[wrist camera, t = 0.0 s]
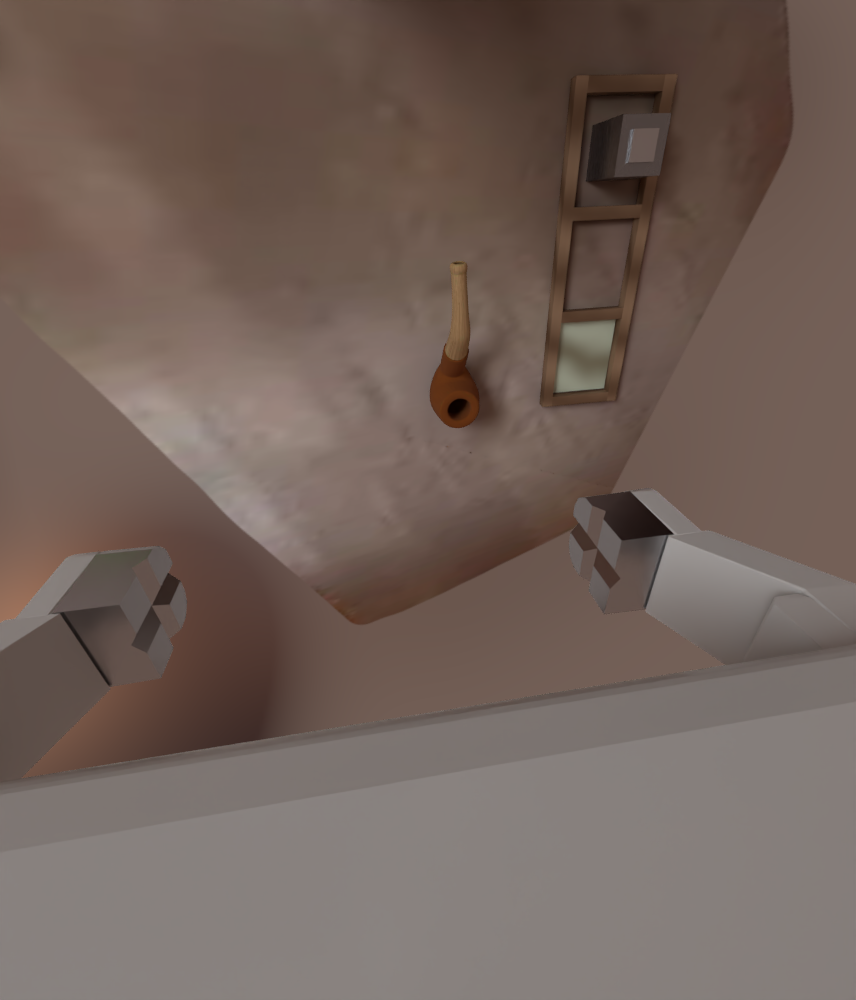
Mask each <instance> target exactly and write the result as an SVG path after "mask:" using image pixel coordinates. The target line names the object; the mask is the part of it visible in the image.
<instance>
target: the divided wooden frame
mask: <svg viewBox="0 0 856 1000" xmlns="http://www.w3.org/2000/svg"><path fill="white" fill-rule="evenodd" d="M677 75H678V74H638V75H577V76H575V77H573V78H572V79H571V87H570V97H569V107H568V118H567V128H566V138H565V148H564V159H563V169H562V179H561V189H560V200H559V210H558V220H557V230H556V241H555V251H554V261H553V271H552V282H551V292H550V302H549V312H548V322H547V333H546V343H545V353H544V363H543V374H542V384H541V394H540V405H541V406H542V407H548V406H558V405H569V404H580V403H590V402H601V401H612V400H616V394H617V389H618V384H619V379H620V373H621V368H622V363H623V358H624V352H625V347H626V342H627V337H628V331H629V326H630V321H631V316H632V310H633V305H634V300H635V295H636V290H637V284H638V279H639V274H640V269H641V263H642V258H643V253H644V248H645V242H646V237H647V232H648V227H649V221H650V216H651V211H652V206H653V200H654V195H655V190H656V185H657V179H658V176H651V177H643V178H641V180H640V185H639V191H638V197H637V203H636V205H617V206H596V207H575V208H574V205H575V196H576V187H577V179H578V170H579V161H580V152H581V143H582V134H583V126H584V117H585V108H586V99H587V95H628V94H655V99H654V105H653V111H652V113H670V111H671V106H672V101H673V96H674V90H675V85H676V80H677ZM626 218H634V220H633V225H632V231H631V237H630V243H629V248H628V254H627V260H626V266H625V271H624V277H623V283H622V289H621V294H620V300H619V306H614V307H600V308H586V309H572V310H563V302H564V294H565V285H566V276H567V267H568V258H569V249H570V240H571V232H572V223H573V221H586V220H606V219H626ZM615 321H616V323H615ZM614 327H615V329H614ZM613 333H614V334H613ZM612 339H613V340H612ZM611 344H612V346H611ZM610 350H611V352H610ZM609 356H610V357H609ZM608 362H609V363H608ZM607 367H608V369H607ZM606 373H607V375H606ZM605 379H606V380H605ZM604 385H605V386H604ZM601 388H604V389H601ZM590 389H600V390H590ZM578 390H589V391H578ZM567 391H577V392H567ZM556 392H566V393H556ZM553 393H555V394H553Z"/></svg>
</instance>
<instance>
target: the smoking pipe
mask: <svg viewBox="0 0 856 1000" xmlns="http://www.w3.org/2000/svg"><path fill="white" fill-rule="evenodd" d="M450 272H451V282H452V322H451V329H450V334H449V338H448V341H447V343H446V344H445V346H444V350H443V355H442V360H441V364H440V365H439V367H438V368H437V370H436V372H435V374H434V377H433V380H432V383H431V387H430V402H431V406H432V408H433V410H434V411H435V413H436V414H437V416H438V417H439V418H440V419H441V420H442V421H443V423H445V424H446V425H447V426H449V427H452V428H462V427H465V426H468V425H469V424H471V423H472V422H473V421H474V420H475V418H476V417H477V415H478V413H479V392H478V389H477V386H476V384H475V382H474V380H473V378H472V377H471V375H470V373H469V372H468V370H467V369H466V367H465V364H466V361H467V357H468V353H469V349H468V346H469V341H470V322H469V312H468V295H467V276H466V272H467V264H466V263H465V262H463V261H456V262H453V263H451V265H450Z"/></svg>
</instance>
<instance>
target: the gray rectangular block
mask: <svg viewBox="0 0 856 1000" xmlns="http://www.w3.org/2000/svg"><path fill="white" fill-rule="evenodd" d="M670 119H671V113H650V114H623V115H620V116H617V117H614V118H612V119H609V120H606V121H604V122H601V123H598V124H595V125H593V127H592V136H591V144H590V152H589V160H588V168H587V177H586V181H606V180H628V179H636V178H643V177H651V176H659V175H660V171H661V166H662V160H663V155H664V150H665V145H666V139H667V134H668V129H669V124H670Z"/></svg>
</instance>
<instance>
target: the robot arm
mask: <svg viewBox="0 0 856 1000" xmlns="http://www.w3.org/2000/svg"><path fill="white" fill-rule="evenodd" d="M573 515H574V517H575V518H576V519H577V521H578V522H579V523H578V524H577V526H576V527H575V528H574V529H573V530H572V531H571V533H570V541H569V550H570V557H571V560H572V563H573V565H574V568H575V569H576V571H577V573H578V574H579V576H581V577H583V578H585V579H587V580H588V581H590V587H589V592H590V593H591V595H592V596H593V598H594V599H595V601H596V603H597V604H598V606H599V607H600V609H601V610H602V612H603V613H604V614H610V613H619V612H627V611H636V610H644V609H646V610H645V612H647V613H648V614H650V615H651V616H653V617H654V618H656V619H657V620H659V621H660V622H662V623H663V624H665V625H666V626H668V627H669V628H671V629H672V630H674V631H676V632H677V633H678V634H680V635H682V636H683V637H685V638H686V639H688V640H689V641H690V642H692V643H694V644H695V645H696V646H698V647H700V648H701V649H702V650H704V651H706V652H707V653H709V654H710V655H712V656H713V657H715V658H716V659H718V660H719V661H721V662H722V663H724V664H725V665H724V666H717V667H711V668H705V669H699V670H693V671H686V672H680V673H674V674H668V675H661V676H656V677H649V678H643V679H636V680H630V681H624V682H618V683H612V684H606V685H600V686H593V687H587V688H581V689H574V690H568V691H562V692H556V693H549V694H544V695H537V696H531V697H524V698H518V699H512V700H506V701H500V702H494V703H487V704H481V705H475V706H469V707H462V708H456V709H450V710H444V711H437V712H432V713H425V714H419V715H413V716H406V717H400V718H395V719H388V720H382V721H376V722H369V723H363V724H357V725H350V726H345V727H338V728H332V729H326V730H319V731H313V732H308V733H301V734H295V735H289V736H282V737H276V738H270V739H264V740H257V741H251V742H245V743H239V744H233V745H227V746H220V747H214V748H208V749H201V750H195V751H189V752H183V753H177V754H170V755H165V756H158V757H152V758H146V759H139V760H134V761H127V762H121V763H115V764H108V765H102V766H96V767H90V768H84V769H78V770H71V771H65V772H59V773H53V774H46V775H40V776H34V777H28V778H22V777H23V776H24V775H25V774H26V773H27V772H28V771H29V770H30V769H31V768H32V767H33V766H34V764H36V763H37V762H38V761H39V760H40V759H41V758H42V757H43V756H44V755H45V754H46V753H47V752H48V751H49V750H50V749H51V748H52V747H53V746H54V745H55V744H56V743H57V742H58V741H59V740H60V739H61V738H62V737H63V736H64V735H65V734H66V733H67V732H68V731H69V730H70V729H71V728H72V727H73V726H74V725H75V724H76V723H77V722H78V721H79V720H80V719H81V718H82V717H83V716H84V715H85V714H86V713H87V712H88V711H89V710H90V709H91V708H92V707H93V706H94V705H95V704H96V703H97V702H98V701H99V700H100V699H101V698H102V697H103V696H104V695H105V694H106V693H107V692H108V691H109V690H110V687H112V686H118V685H124V684H129V683H135V682H141V681H147V680H153V679H158V678H161V677H162V674H163V672H164V670H165V667H166V665H167V662H168V660H169V658H170V655H171V652H172V650H173V646H172V644H171V642H170V640H169V639H170V638H171V637H172V636H173V635H175V634H176V633H177V632H178V631H179V630H180V629H181V628H182V625H183V623H184V620H185V617H186V606H187V600H186V595H185V590H184V588H183V586H182V583H181V581H180V580H178V579H176V578H175V577H174V576H172V575H170V574H169V573H168V572H169V570H170V567H171V565H172V561H171V559H170V557H169V555H168V553H167V551H166V549H164V548H162V547H160V546H153V547H143V548H134V549H122V550H112V551H104V552H92V553H85V554H75V555H73V556H70V557H67V558H66V559H65V560H64V561H63V563H62V564H61V565H60V566H59V567H58V568H57V570H56V571H55V572H54V573H53V574H52V575H51V577H50V578H49V579H48V580H47V582H46V583H45V584H44V585H43V586H42V587H41V589H40V590H39V591H38V592H37V593H36V595H35V596H34V597H33V598H32V599H31V601H30V602H29V603H28V604H27V605H26V607H25V608H24V609H23V610H22V612H21V613H20V614H19V615H18V616H17V617H16V618H15V619H11V620H5V621H3V622H1V623H0V1000H856V584H854V583H852V582H849V581H846V580H844V579H841V578H838V577H835V576H832V575H830V574H827V573H824V572H822V571H819V570H816V569H813V568H811V567H808V566H805V565H803V564H800V563H797V562H794V561H791V560H789V559H786V558H783V557H780V556H778V555H775V554H772V553H770V552H767V551H764V550H761V549H759V548H756V547H753V546H750V545H748V544H745V543H742V542H739V541H737V540H734V539H731V538H729V537H726V536H723V535H720V534H718V533H715V532H712V531H701V530H700V529H699V528H697V527H696V526H695V525H694V524H693V523H692V522H691V521H690V520H688V519H687V518H686V517H685V516H684V515H683V514H682V513H681V512H679V511H678V510H677V509H676V508H675V507H674V506H673V505H672V504H670V503H669V502H668V501H667V500H666V499H665V498H664V497H663V496H661V495H660V494H659V493H658V492H657V491H656V490H653V489H650V488H644V489H638V490H631V491H625V492H621V493H613V494H605V495H597V496H590V497H582V498H578V500H577V502H576V504H575V508H574V514H573Z"/></svg>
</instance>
